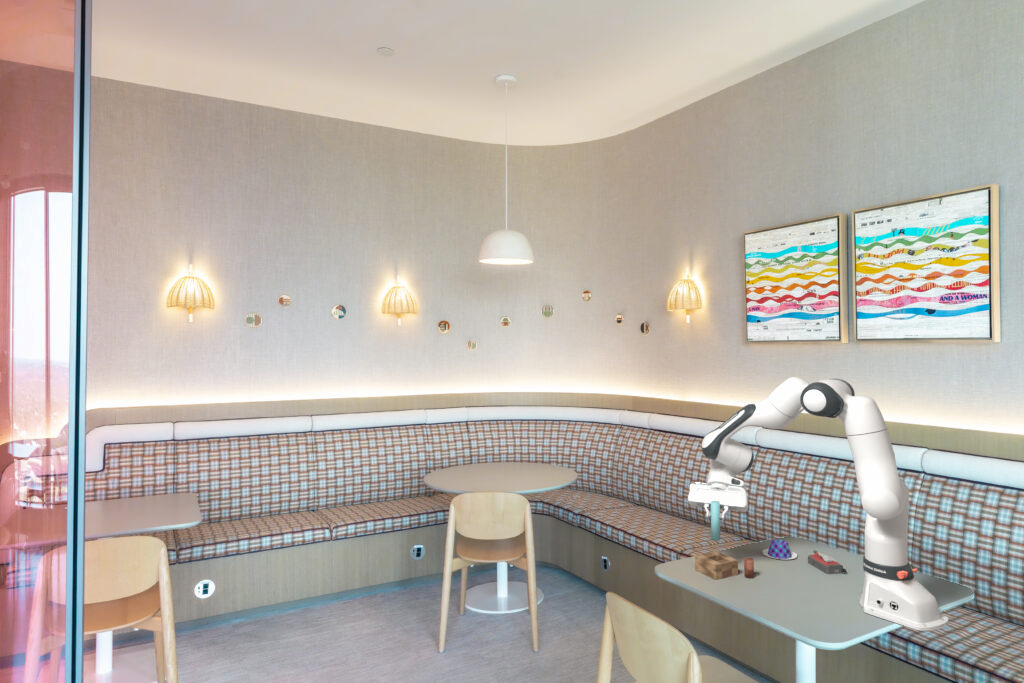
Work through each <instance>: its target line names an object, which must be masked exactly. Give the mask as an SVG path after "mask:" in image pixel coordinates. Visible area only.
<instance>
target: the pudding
mask: <svg viewBox="0 0 1024 683" xmlns="http://www.w3.org/2000/svg"><path fill="white" fill-rule="evenodd" d="M761 552H762V554H763V555H765V556H766V557H769V558H772V559H776V560H779V558H780V559H781V560H785V561H787V560H793V559H794V560H795V559H796V558H798V554H797V553H795V552H794V551H792V550H790V546H789V543H788V542H787V541H785V540H784V539H773V540H771V541H770V542H769V548H766V549H765V548H764V549H763V550H762V551H761Z"/></svg>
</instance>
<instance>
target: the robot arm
mask: <svg viewBox="0 0 1024 683" xmlns="http://www.w3.org/2000/svg"><path fill="white" fill-rule="evenodd" d="M803 411H804V412H807V413H808V414H810V415H812V416H816V417H821V418H829V419H830V418H831V419H836V418H838V419H840V420H841V422H842V424H843V427H844V430H845V435H846V438H847V443H848V445H849V448H850V452H851V456H852V460H853V463H854V469H855V477H856V482H857V488H858V492H859V496H860V503H861V506H862V508H863V510H864V511H865V523H864V524H865V525H864V555H863V557H862V558H863V559H862V560H863V561H862V562H863V563H862V568H863V573H864V574H863V575H864V576H863V585H862V590H861V595H860V597H859V600H858V602H859V605H860V606H861V607H862V608H863V612H864V613H865V614H867V615H871V616H874V617H877V618H880V619H882V620H883V619H884V620H886V621H889V622H891V623H895V624H898V625H901V626H904V627H907V628H910V629H913V630H915V631H916V630H917V631H922V632H923V631H925V632H927V631H929V632H930V631H933V630H934V631H937V630H938V629H942V628H944V627H946V626H947V625H949V622H950V621H949V617H948V616H946V615H944V614H943V613H941V612H940V609H939V604H938V601H937V599H936V597H935V596H934V595H933V594H932V593H931V592H930V591H929V590H928V589H927V588H925V586H924V585H922V584H921V583H920V582H919V580H918V579H917V578H916V577H915V573H918V571H917V570H918V568H912V567H911V565H910V563H909V560H908V559H909V558H908V557H909V556H908V555H909V554H908V553H909V552H908V546H909V545H908V544H909V542H908V535H909V534H908V532H909V506H910V494H909V492H910V491H909V488H908V486H907V484H906V482H905V481H904V480H903V479H902V478H901V477H899V471H898V467H897V461H896V454H895V451H894V448H893V444H892V442H891V437H890V434H889V431H888V428H887V425H886V421H885V418H884V417H883V414H882V412H881V410H880V407H879V406H878V404H877V402H876V400H875V399H874V398H872V397H871V396H867V395H856V393H855V389H854V388H853V386H852V385H851V384H850V383H849V382H848V381H847V380H844V379H841V378H829V379H827V378H825V379H820V380H818V381H817V380H816V381H815V382H814V381H813V382H811V383H809V382H807V380H805V379H803V378H801V377H797V376H792V377H788V378H787V379H785V380H784V381H782V382H781V383H780V384H779V385H778V386H777V387H776V388H774V390H772V391H771V393H769V395H768V396H766V397H765V398H764V399H762V400H760V401H758V402H755V403H748V404H746V405H745V406H743V407H742V408H740V409H739V410H738V411H736V412H735V413H734V414H733V415H731V416H730V417H729V418H728V419H727V420H725V421H724V422H723V423H722V424H720V425H719V426H718V427H717V428H715V429H713V430H711V431H710V432H708V433H707V434H706V435H705V436H704V437H703V438H702V440H701V444H700V447H701V451H702V454H703V455H704V457H705V458H708V459H710V461H709V468H710V470H709V471H708V473H707V481H706V482H704V481H702V482H701V481H694V482H692V483H690V484H689V488H688V490H689V492H688V496H687V502H688V504H689V505H690V506H692V507H700V508H704V510H705V512H706V514H705V516H706V519H710V520H711V511H710V509H711V501H718V502H720V510H724V511H722V512H720V516H719V519H720V521H725V518H726V516H727V515H728V514H729V513H730V511H734V512H742V513H743V512H744V513H745V512H747V511H748V510H749V501H748V500H749V499H748V494H747V488H746V484H745V482H744V481H743V480H741V479H739V478H736V477H734V476H735V475H738V474H742V473H744V472H747V471H749V470H750V469H751V468H752V467H753V465H754V458H755V457H754V452H753V449H752V448H751V447H749V446H748V445H745V444H743V443H742V442H740V441H737V440H735V439H733V438H732V437H733V436H734V435H735V434H737V433H738V432H740V431H741V430H742V429H744V428H747V427H759V428H765V429H770V430H778V429H780V430H781V429H784V428H786V427H788V426H789V425H791V424H792V423H793V422H794V421H795V420H796V419H797V417H799V415H800V414H801V413H802V412H803Z"/></svg>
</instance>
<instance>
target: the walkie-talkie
mask: <svg viewBox="0 0 1024 683" xmlns="http://www.w3.org/2000/svg"><path fill="white" fill-rule="evenodd" d="M813 553H814V554H809V555H807V563H808V564H809V565H810V566H812V567H814V568H816V569H818V570H819V571H821V572H822V573H824V574H826V575H837V574H843V573H847V569H846V568H844V565H842V564H840V563H839V562H838V561H837V559H835V558H834V557H832V556H831V555H830V556H829V555H828V554H825V553H824V552H822V551H820V552H819V551H817V550H816V549H815V550H813Z"/></svg>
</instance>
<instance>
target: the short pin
mask: <svg viewBox="0 0 1024 683" xmlns="http://www.w3.org/2000/svg"><path fill="white" fill-rule="evenodd" d="M754 562H755V561H754V558H753V557H752V558H751V557H744V558H743V567H744V569H743V570H744V573H743V574H744V577H745V578H746V579H754V577H755V574H754V573H755V565H754V564H755V563H754Z"/></svg>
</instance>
